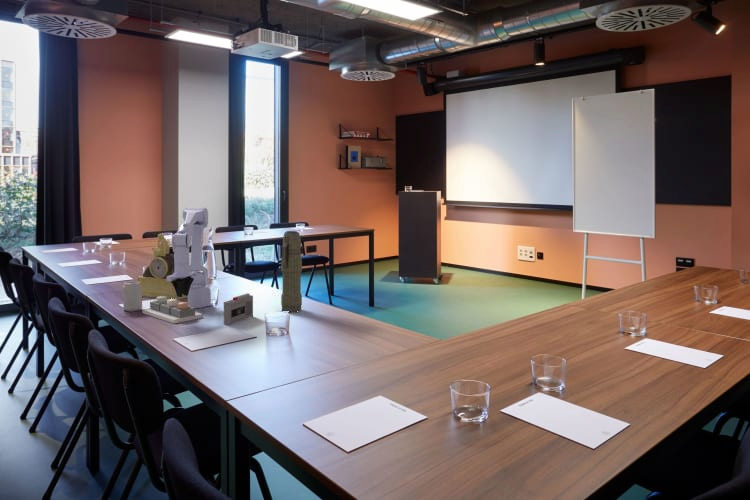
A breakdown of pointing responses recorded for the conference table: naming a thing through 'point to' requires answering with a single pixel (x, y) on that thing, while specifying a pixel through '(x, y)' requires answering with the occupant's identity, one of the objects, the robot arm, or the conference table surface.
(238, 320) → the cassette player
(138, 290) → the can
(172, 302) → the cream button
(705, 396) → the conference table surface
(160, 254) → the decorative clock
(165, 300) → the sage button
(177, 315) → the panel
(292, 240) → the thermos
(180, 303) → the terracotta button
